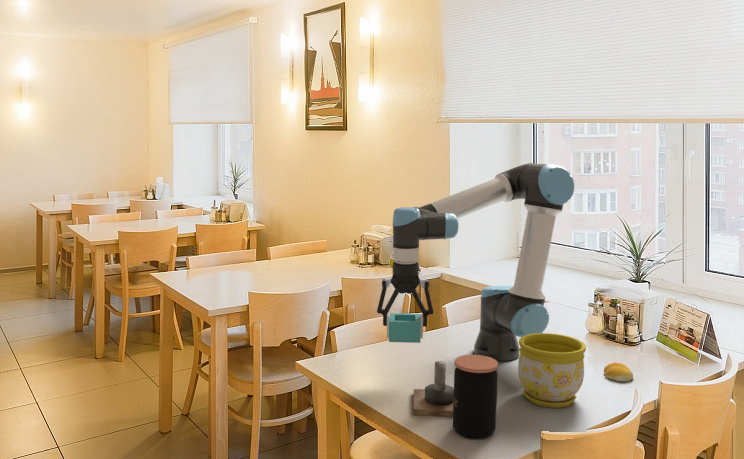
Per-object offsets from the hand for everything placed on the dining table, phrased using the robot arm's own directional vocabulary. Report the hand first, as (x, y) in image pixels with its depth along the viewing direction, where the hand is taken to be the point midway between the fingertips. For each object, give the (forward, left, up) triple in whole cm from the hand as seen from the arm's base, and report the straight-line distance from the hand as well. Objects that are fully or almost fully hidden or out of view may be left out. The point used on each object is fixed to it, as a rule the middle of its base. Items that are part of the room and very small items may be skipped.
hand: (404, 336), depth 194 cm
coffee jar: (-18, +30, -14) cm, 38 cm away
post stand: (-10, +15, -14) cm, 23 cm away
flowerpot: (-41, +8, -14) cm, 44 cm away
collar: (0, 0, 0) cm, 0 cm away
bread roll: (-66, -11, -15) cm, 68 cm away
